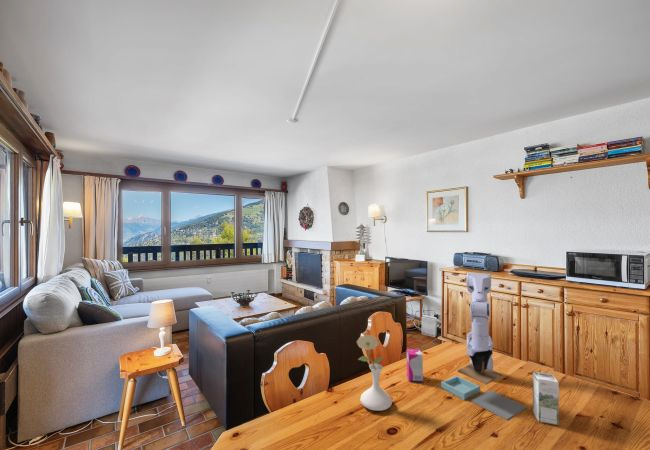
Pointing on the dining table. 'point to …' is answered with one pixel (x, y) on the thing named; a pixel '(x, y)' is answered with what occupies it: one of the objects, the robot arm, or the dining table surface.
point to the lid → (483, 376)
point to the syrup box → (546, 398)
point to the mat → (498, 404)
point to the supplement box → (414, 365)
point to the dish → (460, 387)
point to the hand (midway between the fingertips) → (480, 370)
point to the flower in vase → (374, 395)
